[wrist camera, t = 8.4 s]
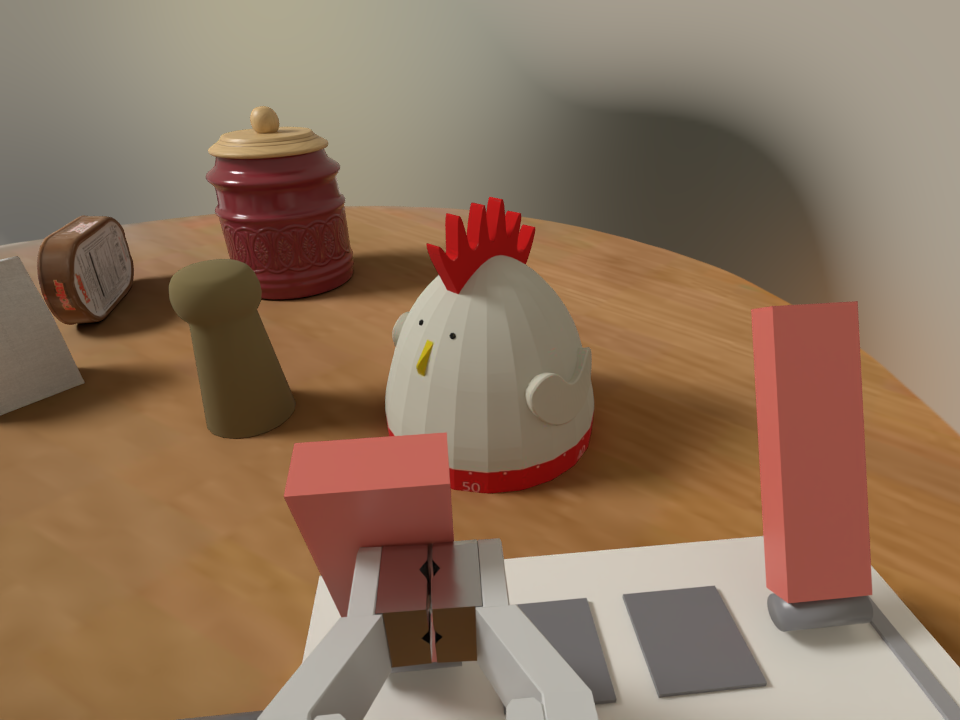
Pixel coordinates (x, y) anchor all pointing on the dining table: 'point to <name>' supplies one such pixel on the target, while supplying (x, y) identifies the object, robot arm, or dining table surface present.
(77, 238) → the tin
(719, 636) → the power strip
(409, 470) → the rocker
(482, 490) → the kitchen timer
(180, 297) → the cork
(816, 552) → the rocker
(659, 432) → the dining table surface
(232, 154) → the canister
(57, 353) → the grey rectangular block
